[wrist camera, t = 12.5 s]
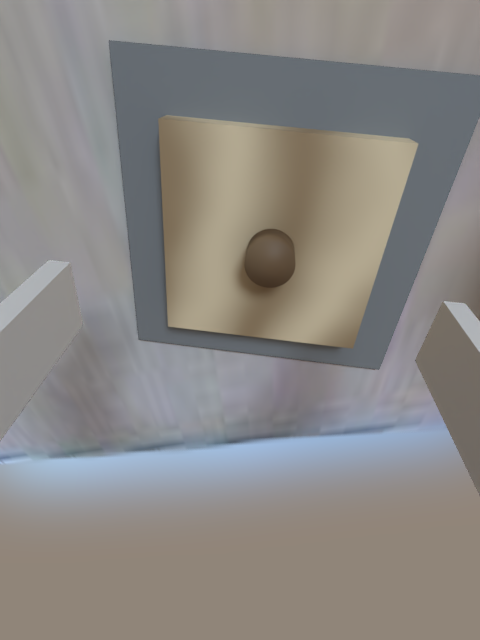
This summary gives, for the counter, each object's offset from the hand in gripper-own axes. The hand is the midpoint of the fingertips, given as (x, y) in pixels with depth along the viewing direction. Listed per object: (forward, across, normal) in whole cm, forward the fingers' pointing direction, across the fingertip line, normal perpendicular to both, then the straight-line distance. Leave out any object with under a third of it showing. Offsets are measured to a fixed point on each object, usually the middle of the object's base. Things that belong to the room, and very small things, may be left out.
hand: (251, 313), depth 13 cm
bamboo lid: (+8, +1, 0) cm, 8 cm away
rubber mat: (+8, +1, 0) cm, 8 cm away
